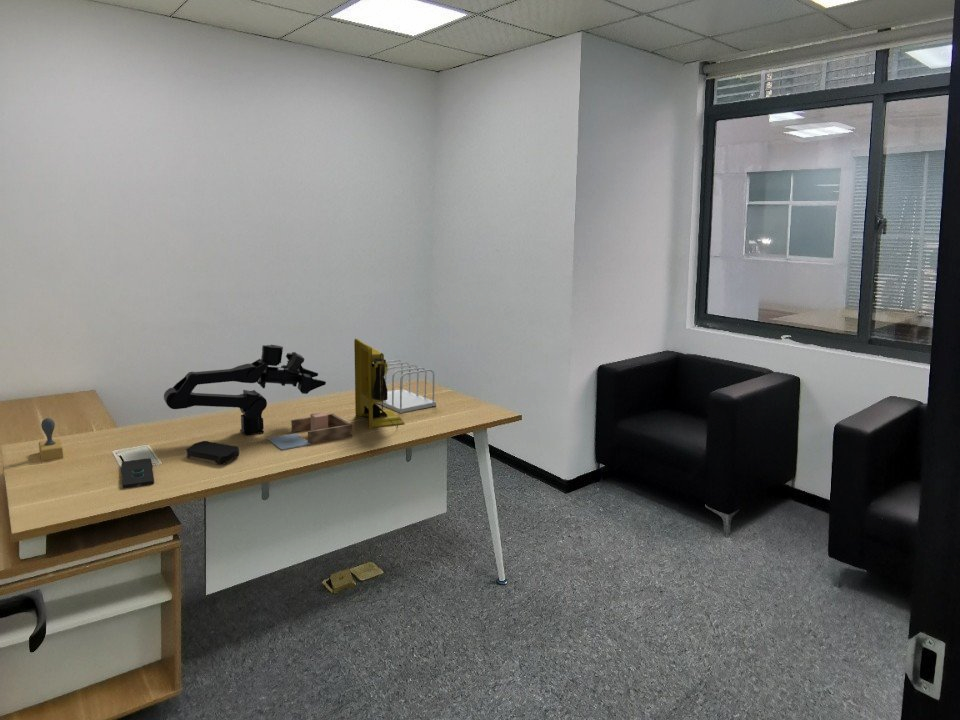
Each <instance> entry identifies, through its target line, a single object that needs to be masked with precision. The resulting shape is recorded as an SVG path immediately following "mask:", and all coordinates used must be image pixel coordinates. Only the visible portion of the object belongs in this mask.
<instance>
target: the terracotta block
mask: <svg viewBox="0 0 960 720" xmlns="http://www.w3.org/2000/svg"><path fill="white" fill-rule="evenodd" d="M309 417H311V429H310V431H313V430H319V429H325V428H329V426H328V415H327V414H326V413H325V412H322V411H321V412H315V413H314V412H313V413H310V415H309Z"/></svg>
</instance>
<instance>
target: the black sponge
mask: <svg viewBox="0 0 960 720" xmlns="http://www.w3.org/2000/svg"><path fill="white" fill-rule="evenodd" d="M185 450H186V458H187V459H190V460H196V461H201V462H205V463H206V462H207V463H211V464H215V465H220V466H221V465H225V464H227V463H228V462H230V461H231V460H234V459H236V458H238V457H239V455H240V447H239V446H237V445H231V444H225V443H218V442H212V441H208V440H203V441H198V442H195V443H193V444H191V445H190V446H189V447H187V448H186V449H185Z"/></svg>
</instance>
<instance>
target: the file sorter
mask: <svg viewBox="0 0 960 720" xmlns="http://www.w3.org/2000/svg"><path fill="white" fill-rule="evenodd" d="M386 362H387V366H389V367H388V371H390V370H394V369H397V370H395V371H394V372H393V373H392V379H391V380H392V381H391V390H387V397H388V400H384V402H383V407H386V408H388V409H390V410H391V411H393V412H394V411H395V412H397V413H399V414H402V413H406V412H407V413H408V412H412V411H417V410H421V409H422V410H423V409H425V408H427V409H428V408H432V406H433V407H436V406H437V402H436V401H435V371H433V370H432V369H426V368H425V367H418V366H417V364H410V363H409V362H407V361H401V360H400V359H393V360H386ZM395 362H396V363H395ZM403 364H404V365H403ZM405 364H406V365H405ZM395 365H397V366H395ZM399 365H400V366H399ZM390 366H391V367H390ZM411 367H413V368H411ZM404 368H405V369H404ZM414 370H416V371H414ZM405 371H406V372H405ZM407 371H408V372H407ZM399 372H400V373H401V374H400V375H401V376H400V379H399V380H400V381H399V389H395V386H394V384H395V383H394V381H395V375H396V373H399ZM404 372H405V373H404ZM427 372H431V374H432V399H429V398H427ZM420 373H424V394H423V396H422V395H420V394H419V377H420V375H419V374H420ZM412 374H416V392H415V393H414V392H412V391H411V375H412ZM407 375H408V390H406V389H404V388H403V387H404V385H403V378H404V377H405V376H407ZM384 378H385V382H386V383H387V374H386V375H385V376H384ZM394 389H395V390H394ZM377 405H380V406H382V402H380V403H377Z"/></svg>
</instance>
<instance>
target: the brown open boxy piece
mask: <svg viewBox="0 0 960 720" xmlns="http://www.w3.org/2000/svg"><path fill="white" fill-rule="evenodd" d="M327 415H328V428H325V429H319V430H313V431H311V417H310V416H309V417H303V418H296V419H291V421H290V422H291V424H290V425H291V432H292V433H293V432H298V431H299V432H301V431H305V430H308V431H307V441H308V442H309V443H310V444H315V442H316V443H320V442H321V441H322V442H326V441H331V440H337V439H344V438H349V436H350V437H353V425H352V423H349V422H348V421H346V420H344V419H343V418H341V417H340V416H338V415H336V414H334V413H328V414H327ZM329 426H331V427H329ZM322 442H321V443H322Z"/></svg>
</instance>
